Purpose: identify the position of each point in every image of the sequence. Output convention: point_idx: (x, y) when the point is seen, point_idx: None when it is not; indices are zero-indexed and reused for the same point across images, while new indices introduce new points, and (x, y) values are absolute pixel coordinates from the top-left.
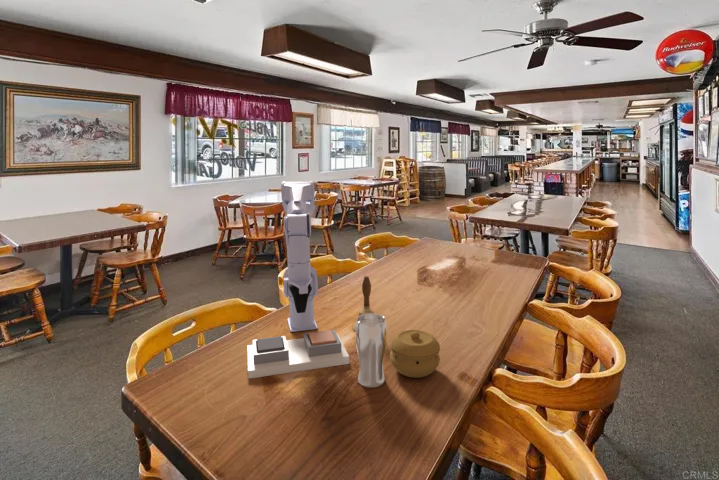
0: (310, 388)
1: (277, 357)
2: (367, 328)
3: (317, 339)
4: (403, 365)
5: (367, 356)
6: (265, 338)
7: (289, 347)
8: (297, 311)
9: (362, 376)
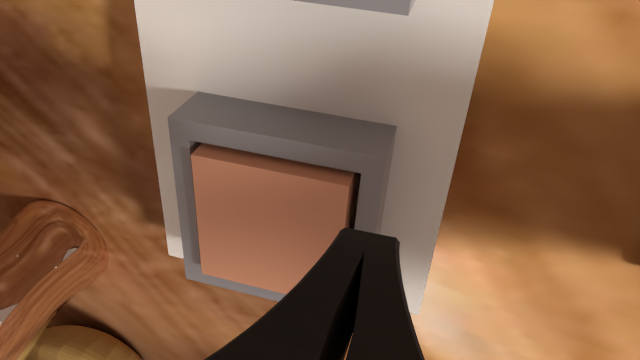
0: (13, 13)
1: None
2: None
3: (232, 198)
4: None
5: None
6: None
7: (359, 12)
8: (336, 241)
9: (10, 225)
